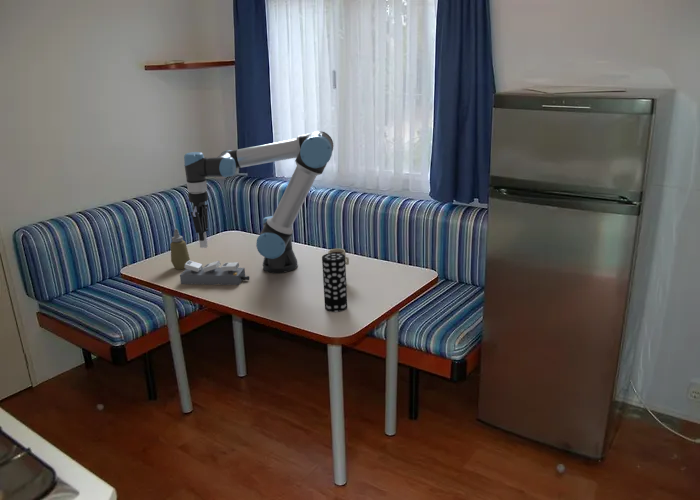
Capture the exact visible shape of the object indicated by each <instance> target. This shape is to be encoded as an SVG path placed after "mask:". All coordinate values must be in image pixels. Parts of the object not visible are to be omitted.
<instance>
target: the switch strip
mask: <svg viewBox="0 0 700 500" xmlns="http://www.w3.org/2000/svg"><path fill="white" fill-rule="evenodd" d="M204 267H205V266H204ZM204 267H203V266H202V269H201V270H200V271H199V272H196V271H193V270H189V269H186V268H185V269H184V270H183V271H182V273H180V274H179V278H180V279H179V280H180V284H181V285H216V284H220V285H222V286H223V285H224V286H225V285H227V286H232V285H233V286H234V285H235V286H239V285H240V284H241V283H242V282H243V281H249V280H250V276H249V275H246V272H245V267H238V268H237V269H236V270H230V271H222V269H221V267H220V266H219V267H218V268H216V269H213V270H210V271H207V272H204V270H203V268H204ZM241 281H242V282H241ZM220 285H219V286H220Z"/></svg>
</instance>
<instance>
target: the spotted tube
mask: <svg viewBox="0 0 700 500" xmlns="http://www.w3.org/2000/svg"><path fill="white" fill-rule="evenodd" d="M321 264H322V281H323V295H324V297H323V298H324V309H325V310H326V311H327V312H330V313H340V312H343V311H345V310H347V308H348V294H347V293H348V291H347V269H346V265H345V255H344V254H341V253H328V252H327V253H325V254H323V255H322V257H321Z"/></svg>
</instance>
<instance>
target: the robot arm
mask: <svg viewBox="0 0 700 500" xmlns="http://www.w3.org/2000/svg"><path fill="white" fill-rule="evenodd" d="M333 151H334V140H333V138H332V136H330V135H329V134H328V132H325V131H322V130H315V131H312V132H309V133H305V134H300V135H298V136H297V137H296V138H291V139H288V140H287V139H286V140H282V141H277V142H272V143H266V144H261V145H256V146H249V147H244V148H239V149H234V150H232V149H231V150H230V149H229V150H227V149H226V150H225V151H223V152H221V153H220V154H219V155H217V156H216V157H205V155H204V153H203V152H201V151H200V152H199V151H192V152H191V151H190V152H187V153H185V154H184V156H183V159H184V171H185V178H186V187H187V191H188V194H187V197H188V202H189V203H192V204H193V205H192V211H191V212H190V215H191V218H192V221H193V226H194V229H195V233H196V234H198V241H199V248H202V249H203V248H204V249H207V248H208V247H209V246H208V245H209V244H208V238H207V232H208V231H209V229H208V228H209V222H208V220H209V219H208V218H209V217H208V216H209V215H208V213H209V211H208V209H209V204H206V202H207V201H208V200H209V195H208V191H207V190H208V185H207V178H213V177H214V178H217V177H218V178H219V177H220V178H227V177H234V176H235V175H236V170H237V169H240V168H241V169H242V168H246V167H251V166H257V165H258V166H259V165H262V164H263V165H265V164H268V163H274V162H275V163H276V162H279V161H285V160H290V159H295V161H294V162H295V164H296V167H295V169H294V171H293V174H292V175H291V178H290V180H289V182H288V184H287V185H286V188H285V190H284V193H283V195H282V196H281V198H280V200H279V203H278V205H277V207H276V209H275V211H274V213H273V215H270V216H265V217H264V218H262V225H263V228H262V229H261V231H260V234H259V235H258V236H257V239H256V242H255V243H256V249H257V251H258V253H259V254H260V255H261V256H263V262H262V268H263V270H264V271H265V272H266V273H273V274H281V273H287V272H291V271H293V270H295V269H296V268H298V265H299V264H298V259H297V258H296V255H295V252H294V249H293V242H292V240H293V239H292V236H293V232H294V229H293V225H294V222H295V220H296V219H297V217H298V215H299V213H300V210H301V208H302V206H303V204H304V202H305V200H306V198H307V196H308V194H309V192H310V190H311V188H312V186H313V184H314V182H315V180H316V178H317V177H318V176H319V175H322V174H323V173H324V171H325V169H326V167H327V164H328V163H329V161H331V158H332V156H333V155H332V154H333Z"/></svg>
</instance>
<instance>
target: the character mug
mask: <svg viewBox="0 0 700 500" xmlns="http://www.w3.org/2000/svg"><path fill="white" fill-rule="evenodd" d="M328 253H341V254H344V255H345V265H347V266H348V265H350V258H349V257H348V256H346V250H345V249H344V248H332V249H329V250H328V251H327V254H328Z"/></svg>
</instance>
